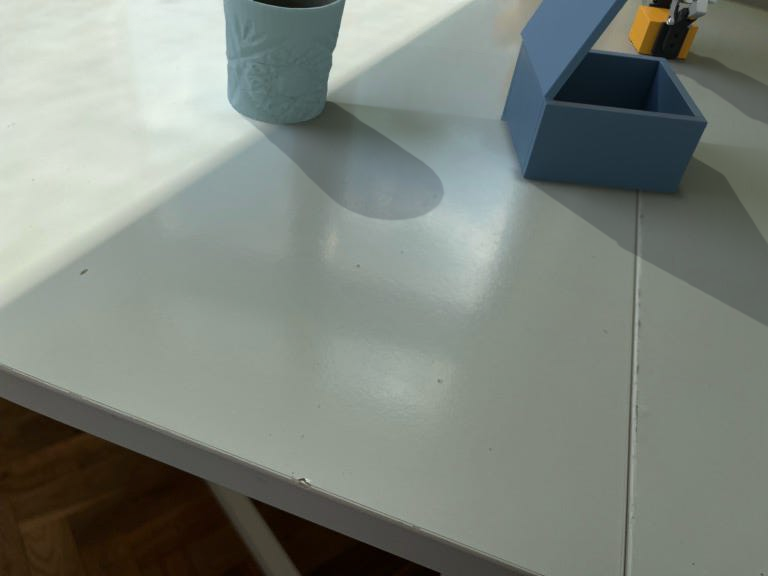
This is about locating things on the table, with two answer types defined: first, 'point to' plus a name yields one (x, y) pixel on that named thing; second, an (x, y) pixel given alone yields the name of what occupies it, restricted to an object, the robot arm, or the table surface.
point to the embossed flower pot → (280, 56)
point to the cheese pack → (655, 30)
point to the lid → (565, 37)
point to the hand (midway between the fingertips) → (657, 44)
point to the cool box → (605, 123)
